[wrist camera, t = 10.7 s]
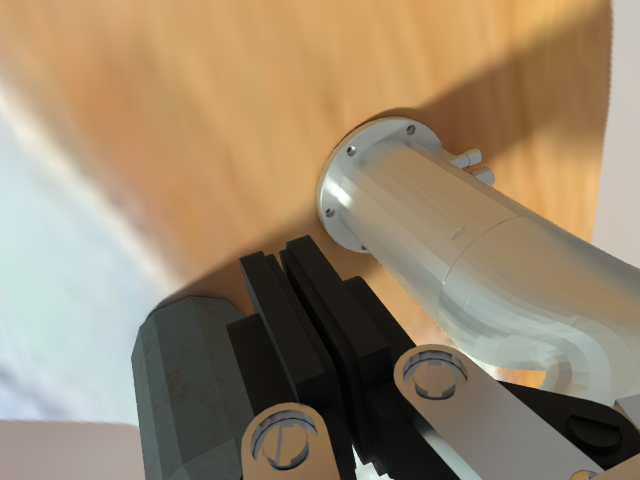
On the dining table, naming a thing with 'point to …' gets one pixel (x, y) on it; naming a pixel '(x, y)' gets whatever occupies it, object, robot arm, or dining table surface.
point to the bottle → (190, 392)
